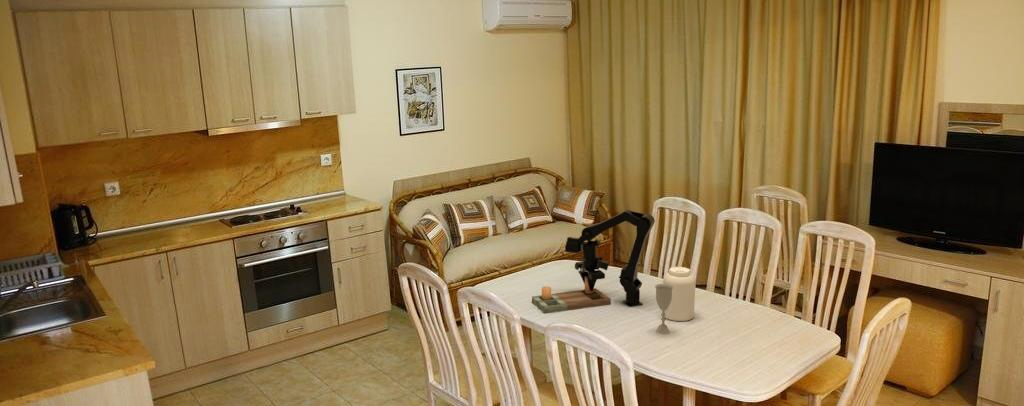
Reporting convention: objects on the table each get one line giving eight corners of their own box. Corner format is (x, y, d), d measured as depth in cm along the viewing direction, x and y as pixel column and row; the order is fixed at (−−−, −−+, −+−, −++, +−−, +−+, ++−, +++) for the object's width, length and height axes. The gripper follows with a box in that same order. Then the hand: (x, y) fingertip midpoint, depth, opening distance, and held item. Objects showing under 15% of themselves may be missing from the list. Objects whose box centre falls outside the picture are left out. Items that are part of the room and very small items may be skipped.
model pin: (552, 304, 319) (552, 288, 317) (543, 305, 317) (543, 290, 316) (549, 301, 322) (549, 286, 321) (540, 302, 321) (540, 287, 320)
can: (694, 322, 296) (696, 274, 292) (662, 320, 298) (663, 272, 294) (693, 311, 308) (695, 265, 304) (662, 310, 310) (663, 263, 306)
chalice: (659, 326, 292) (660, 282, 288) (675, 330, 288) (676, 285, 284) (650, 332, 287) (651, 287, 283) (666, 336, 282) (667, 290, 279)
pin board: (610, 304, 318) (610, 298, 317) (544, 313, 308) (544, 307, 308) (595, 293, 332) (595, 288, 331) (532, 302, 322) (532, 296, 322)
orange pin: (595, 293, 324) (595, 277, 323) (587, 294, 323) (587, 279, 322) (591, 290, 328) (591, 275, 327) (583, 291, 327) (583, 276, 325)
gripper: (616, 258, 316) (615, 293, 319) (597, 247, 333) (597, 281, 336) (592, 261, 312) (592, 296, 316) (574, 250, 330) (574, 283, 333)
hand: (589, 289), depth 325 cm, fingers closed on orange pin, 4 cm apart
